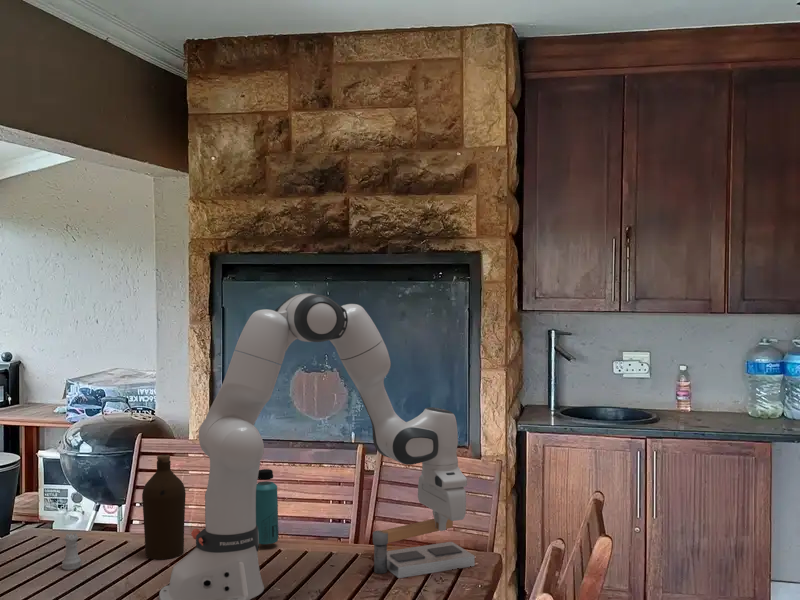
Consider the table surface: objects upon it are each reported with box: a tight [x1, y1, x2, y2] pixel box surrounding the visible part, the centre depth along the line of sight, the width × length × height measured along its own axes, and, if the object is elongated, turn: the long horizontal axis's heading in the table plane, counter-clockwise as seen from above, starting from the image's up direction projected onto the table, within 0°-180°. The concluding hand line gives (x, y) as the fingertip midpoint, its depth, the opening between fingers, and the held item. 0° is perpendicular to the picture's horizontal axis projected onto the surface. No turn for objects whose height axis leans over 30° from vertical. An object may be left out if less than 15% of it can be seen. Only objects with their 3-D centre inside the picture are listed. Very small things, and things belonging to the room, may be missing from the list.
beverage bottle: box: [256, 468, 280, 545], centre depth 214 cm, size 6×7×20 cm
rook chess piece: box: [61, 532, 82, 571], centre depth 199 cm, size 4×4×8 cm
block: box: [373, 541, 475, 579], centre depth 198 cm, size 24×12×6 cm, turn 114°
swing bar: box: [372, 518, 454, 545], centre depth 200 cm, size 23×4×2 cm, turn 127°
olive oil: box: [141, 454, 186, 561], centre depth 208 cm, size 11×11×25 cm
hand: (440, 529), depth 202 cm, fingers closed
